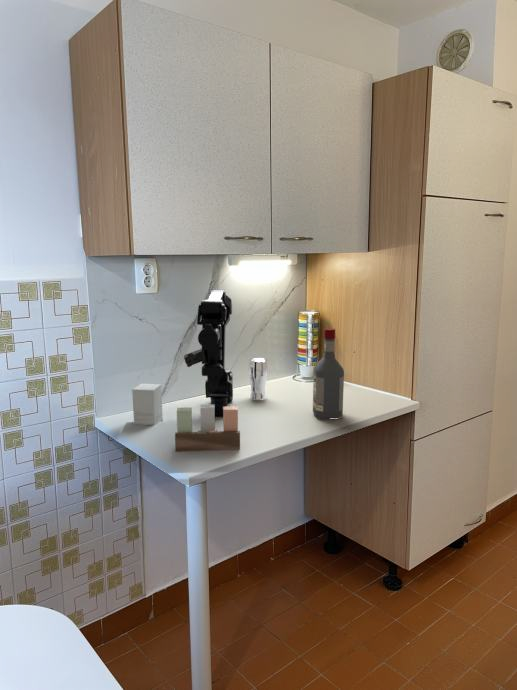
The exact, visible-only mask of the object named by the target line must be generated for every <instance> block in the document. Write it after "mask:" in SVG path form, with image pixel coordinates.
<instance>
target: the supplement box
mask: <svg viewBox="0 0 517 690" xmlns="http://www.w3.org/2000/svg"><path fill="white" fill-rule="evenodd" d="M131 391H132V407H133V409H132V410H133V412H132V413H133V424H135V425H143V426H149V425H150V426H155V425H157V424H158V423H160V422H163V420H164V418H163V415H164V414H163V393H162V384H158V383H157V384H156V383H155V384H154V383H140V384H138V385H136V386H135V387H133V388H132V389H131Z"/></svg>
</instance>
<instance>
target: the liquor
mask: <svg viewBox="0 0 517 690" xmlns="http://www.w3.org/2000/svg"><path fill="white" fill-rule="evenodd" d="M323 334H324V335H323V338H324V346H323V347H324V350H323V351H324V352H323V354H322V355H323V356H322V358H321V359H320V360H319V361H318V362H317V363H316V364H315V365H314V367H313V381H312V382H313V383H312V384H313V386H312V413H313V414H315V415H314V416H315V417H316V418H317V419H318V418H321V419H320V420H322V419H330V418H339V417H341V416H343V412H344V385H345V371H344V368H343V366H342V365H341V364H340V363H339V361H338V360H337V358H336V355H335V339H336V328H327V327H326V328H324V333H323ZM341 418H342V417H341ZM339 419H340V418H339Z"/></svg>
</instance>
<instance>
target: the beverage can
mask: <svg viewBox="0 0 517 690" xmlns="http://www.w3.org/2000/svg"><path fill="white" fill-rule="evenodd" d="M225 370H226V372H227V374H228V376H229V380H230V381H231V384H232V387H234V386H233V385H234V384H233V383H234V382H233V381H234V380H233V378H234V377H233V376H234V375H233V372H232V369H230V368H225ZM227 393H229V392H227ZM233 400H234V396H233V397H230V398H227V404H230V403H232V401H233Z"/></svg>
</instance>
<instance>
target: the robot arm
mask: <svg viewBox="0 0 517 690" xmlns="http://www.w3.org/2000/svg"><path fill="white" fill-rule="evenodd" d="M232 303H233V302H232V299H231V297H229V296H228V295H227V294H226V291H225V290H218V289H214V290H210V292H209V297H207V299H202V300H201V301H200V303H199V304H198V309H197V320H196V323H197V324H196V325H197V326H202V327H201V330H200V331H199V334H198V336H197V342H198V343H199V345H200V346H201V348H200V349H196V350H194V351H191V352H189V353H186V354H184V355H183V359H184V362H185V364H186V366H187V368H191V367H193V365H197V364H199V363H201V365H202V366H201V376H202V377H207V379H206V380H205V386H204V387H205V388H204V389H205V398H206V399H207V398H209V399H210V405H215V417H223V407H228V403H227V398H230V397H233V398H234V389H233V387H234V386H233V387H232V384H231V381H230V380H229V376H228V374H227V372H226V370H225V369H226V361H225V359H226V327H227V326H228V324H229V322H230V321H231V315H233V304H232ZM227 392H229V393H227Z"/></svg>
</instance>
